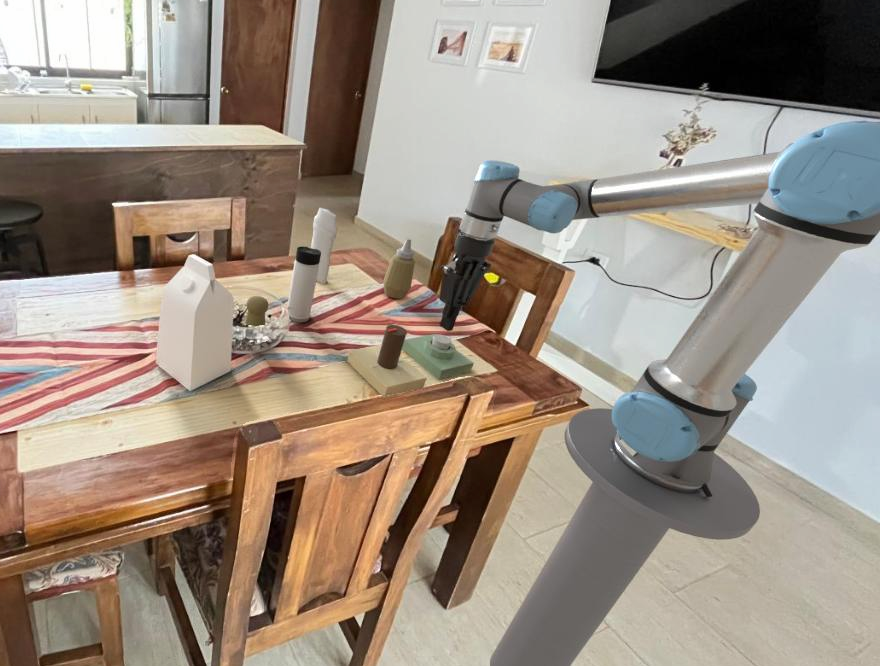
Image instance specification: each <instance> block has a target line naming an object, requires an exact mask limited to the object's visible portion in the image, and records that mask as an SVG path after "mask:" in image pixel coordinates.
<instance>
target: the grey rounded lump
mask: <svg viewBox="0 0 880 666" xmlns="http://www.w3.org/2000/svg"><path fill="white" fill-rule="evenodd" d="M450 343H452V340H451V338H450V337H448V336H447V335H444V334H439V333H438V334H437V333H436V335H434V337H433V340H432V346H434V347H435V348H437V349H440V350H448V349H449V346H450Z"/></svg>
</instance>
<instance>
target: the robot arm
mask: <svg viewBox="0 0 880 666" xmlns="http://www.w3.org/2000/svg"><path fill="white" fill-rule="evenodd" d="M519 177H520V167H519V166H518V165H515V164H514V163H510V162H507V161H502V160H501V161H500V160H494V159H493V160H491V159H490V160H485V161H483V162H482V163H481V164H480V165H479V168H478V170H477V172H476V175H475V178H474V179H473V182H472V183H473V184H472V187H471V190H470V195H469V198H468V202H467V204H466V208H465V211H464V213H463V216H462V218H461V222H460V225H459V228H458V229H459V230H460V231H458V232H457V235H456V238H455V241H454V244H453V246H454V249H455V253H454V255H453V256H452V258H451V262H449V263H447V264H445V263H443V264H441V266H440V269H441V273H442V274H441V283H440V290H439V301H441V302H442V303H444V306H443V310H442V312H441V314H442V316H441V319H440V322H439V327H441V328H443V329H444V330H445V331H446V332H450V331H453V330H454V327H455V324H456V321H457V318H458V317H459V314H460V312H461V309H462V307H463V308H466V307H467V306H468V303H469V302H471V301H472V299H473V297H474V296H475V293H476V291H477V290H478V289H479V287H480V284H481V282H482V281H483V278H484V277H485V274H486V273H487V272H488V271H489V270H490V268H491V267H492V264H491V263H490V262H488V261H486V259H487V257H489V256H490V255H491V254H492V251H493V248H494V245H495V243H496V241H495V239H496V238H497V236H498V233H499V230H500V227H501V224H502V221H503V219H504V217H506V218H509V219H511V220H513V221H517V222H519V223H521V224H524V225H526V226H528V227H531V228H533V229H535V230H537V231H542V232H546V233H550V234H560V233H561V232H563V231H564V230H565V229H566V228H568V227H569V226H570V225H571V223H572V222H573V221H575V220H576V221H577V220H587V219H598V218H606V217H607V218H608V217H618V216H619V217H620V216H628V215H641V214H654V213H664V212H676V211H677V212H678V211H687V210H699V209H701V210H702V209H712V208H722V207H734V206H735V207H736V206H745V205H755V207H754V209H753V210H752V214H753V217H754V218H755V221H756V223H757V228H756V229H755V231H754V232H753V234H752V235H751V237H750V238H749V240H748V241H747V243H745V246H744V247H743V248H742V250H741V252H740V253H739V254H738V256H737V257H736V258H735V260H734V262H733V263H732V264H731V265H730V267H729V269H727V272H726V273H725V275H724V276H723V277H722V279H720V281H719V283H718V284H717V286H716V287H715V289H714V290H713V291H712V292H711V293H712V294H711V295H710V296H709V298H708V299H707V300H706V302H705V303H704V305H703V306H702V308H701V309H700V311H699V313H697V315H696V317H694V319H693V321H692V322H691V323H690V325H689V327H688V328H687V329H686V331H685V332H684V334H683V335H682V337H681V338H680V339H679V341H678V343H677V344H676V345H675V347H674V348H673V350H672V351H671V353H670V354H669V356H668V357H667V358H665V359H657V360H653V361H651V363H649V364H648V366H647V367H646V368H645V370H644V372H643V373H642V375H641V376H640V378H639V379H638V381H637V382H636V384H635V385H634V386H633V387H632V389H631V390H630V391H629V392H626V393H624V394H622V395H621V396H619V397H618V399H617V400H616V402H615V403H614V405H613V407H612V408H611V409H612V422H613V425H614V426H615V429H616V430H617V433H616V434H615V436H614V438H613V439H612V447H613V450H614V452H615V453H616V455H617V456H618V457H619V459H620V460H621V461H622V462H623V463H624V464H625V465H626V466H628V467H629V468H630V469H631V470H633V471H634V472H635V473H637V474H638V475H640V476H641V477H643V478H645V479H646V480H648V481H650V482H652V483H654V484H656V485H659V486H661V487H664V488H666V489H669V490H673V491H676V492H681V493H698V492H701V491H702V490H703V492H704V493H705V495H706V497H712V494H711V492H710V490H709V488H708V486H707V484H708V483H709V481H710V478H711V472H712V465H713V458H714V453H715V451H716V449H717V448H718V446H719V445H720V444H721V443H722V441H723V439H724V438H725V437H726V436H727V434H728V432H730V430H731V428H732V427H733V425H734V424H735V422H736V421H737V420H738V418H739V417H740V415H741V414H742V413H743V411H744V410H745V408H746V407H747V405H748V404H749V403H750V402H752V401H754V398H753V397H754V396H755V394H756V392H757V390H758V386H757V384H756V382H755V380H753V379H752V378H751V377H750V376H749V375H747V374H746V373H747V371H748V370H749V369H750V368H751V367H752V365H753V364H754V363H755V361H756V360H757V359H758V358H759V357H760V355H761V354H762V353H763V352H764V351H765V350H766V348H767V347H768V346H769V344H770V343H771V342H772V340H773V339H774V338H775V336H776V335H778V332H780V331H781V329H782V328H783V326H785V324H786V323H787V321H788V320H789V319H790V318H791V317H792V315H793V314H794V312H795V311H797V309H798V308H799V307H800V305H801V304H802V303H803V302H804V301H805V299H806V298H807V296H808V295H809V294H810V293H811V292H812V290H813V289H814V288H815V287H816V285H817V284H818V283H819V282H820V280H821V279H822V278H823V277H824V275H825V274H826V273H827V272H828V270H830V268H831V267H832V265H833V264H834V263H835V262H836V260H838V258H839V257H840V255H842V254H843V253H845V252H846V251H850V250H857V249H861V248H864V247H868V246H869V245H870V244H871V243H872V241H873V240H874V239H875V238H876V236H878V234H879V233H880V121H869V120H851V121H846V122H839V123H835V124H831V125H829V126H825V127H822V128H819V129H816V130H814V131H813V132H811V133H808V134H806V135H804V136H802V137H801V138H799V139H797V140H796V141H795V142H792V143H789V144H788V145H786V146H785V148H783V149H782V150H781V151H777V152H770V153H769V152H768V153H763V154H756V155H750V156H749V155H748V156H743V157H736V158H729V159H723V160H722V159H721V160H715V161H709V162H702V163H696V164H689V165H682V166H674V167H670V168H662V169H656V170H655V169H654V170H647V171H642V172H635V173H628V174H622V175H615V176H608V177H602V178H595V179H587V180H580V181H579V180H578V181H572V182H567V183H559V184H550V185H539V184H535V183H533V182H529V181H526V180H523V179H521V178H519ZM466 302H467V303H466Z"/></svg>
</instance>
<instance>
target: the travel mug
mask: <svg viewBox="0 0 880 666" xmlns="http://www.w3.org/2000/svg"><path fill="white" fill-rule="evenodd" d="M320 257H321V251H320V250H318V249H312V248H311V247H309V246H297V248H296V253H295V257H294V263H293V270H292V275H291V281H290V288H289V293H288V301H287V307H286V312H287V313H288V315H289V319H288V320H290V321H292V322H295V323H306V322H308V321H310V318H311V313H312V306H313V301H314V296H315V290H316V285H317V281H316V280H317V275H318V269H319V264H320Z"/></svg>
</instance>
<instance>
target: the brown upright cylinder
mask: <svg viewBox="0 0 880 666" xmlns="http://www.w3.org/2000/svg"><path fill="white" fill-rule="evenodd" d="M407 334H408V333H407V329H406V328H404V327H403V326H400V325H397V324H388V325H386V328H385V331H384V334H383V338H382V342H381V344H382V345H381V344H380V345H381V349H380V353H379V356H378V360H377V362H378V364H379V365H380V366H381V367H383V368H386V369H395V368H396V367H397V364H398V361H399V357H400V355H401V353H402V350H403V349H402V347H403V344H404V340H405V339H406V337H407Z"/></svg>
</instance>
